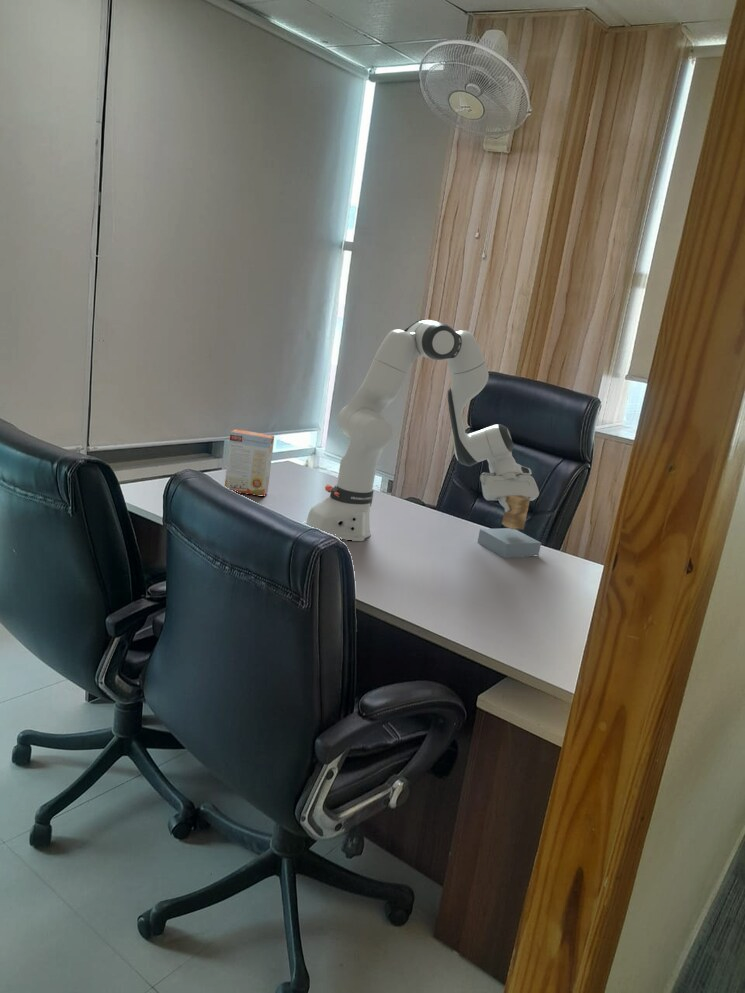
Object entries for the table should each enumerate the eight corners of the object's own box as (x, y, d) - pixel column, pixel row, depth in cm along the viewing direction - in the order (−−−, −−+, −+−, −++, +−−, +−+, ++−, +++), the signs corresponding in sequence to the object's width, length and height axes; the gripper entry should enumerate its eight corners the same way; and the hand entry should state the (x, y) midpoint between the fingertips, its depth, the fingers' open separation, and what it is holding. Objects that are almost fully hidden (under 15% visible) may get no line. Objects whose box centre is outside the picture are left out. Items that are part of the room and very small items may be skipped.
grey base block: (504, 559, 244) (507, 544, 243) (477, 543, 256) (480, 528, 254) (537, 557, 252) (541, 542, 250) (510, 542, 263) (513, 528, 262)
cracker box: (267, 494, 272) (275, 435, 267) (263, 498, 266) (271, 438, 261) (228, 486, 273) (235, 427, 267) (223, 491, 267) (230, 430, 262)
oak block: (511, 529, 248) (517, 499, 246) (501, 524, 253) (507, 494, 250) (523, 529, 251) (529, 499, 248) (514, 524, 255) (520, 494, 252)
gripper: (483, 467, 248) (496, 506, 242) (534, 469, 258) (547, 507, 252) (473, 477, 253) (485, 515, 247) (523, 478, 263) (536, 515, 257)
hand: (517, 511), depth 250 cm, fingers closed on oak block, 5 cm apart
